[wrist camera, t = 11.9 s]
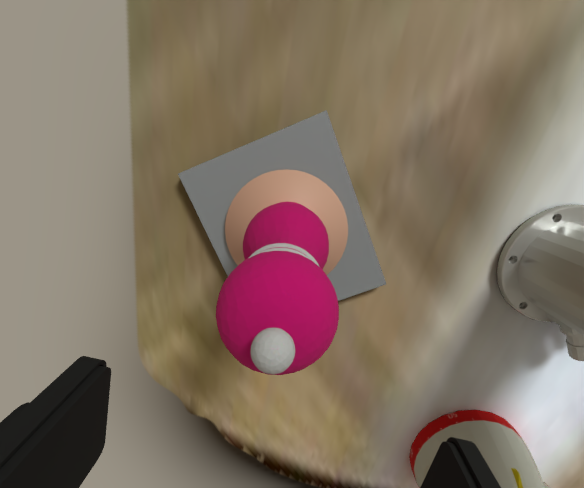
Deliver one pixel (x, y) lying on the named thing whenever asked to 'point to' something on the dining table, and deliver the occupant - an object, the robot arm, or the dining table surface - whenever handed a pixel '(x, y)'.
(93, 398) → the robot arm
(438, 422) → the kitchen timer
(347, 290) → the slate board
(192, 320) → the dining table surface
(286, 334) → the pepper mill
